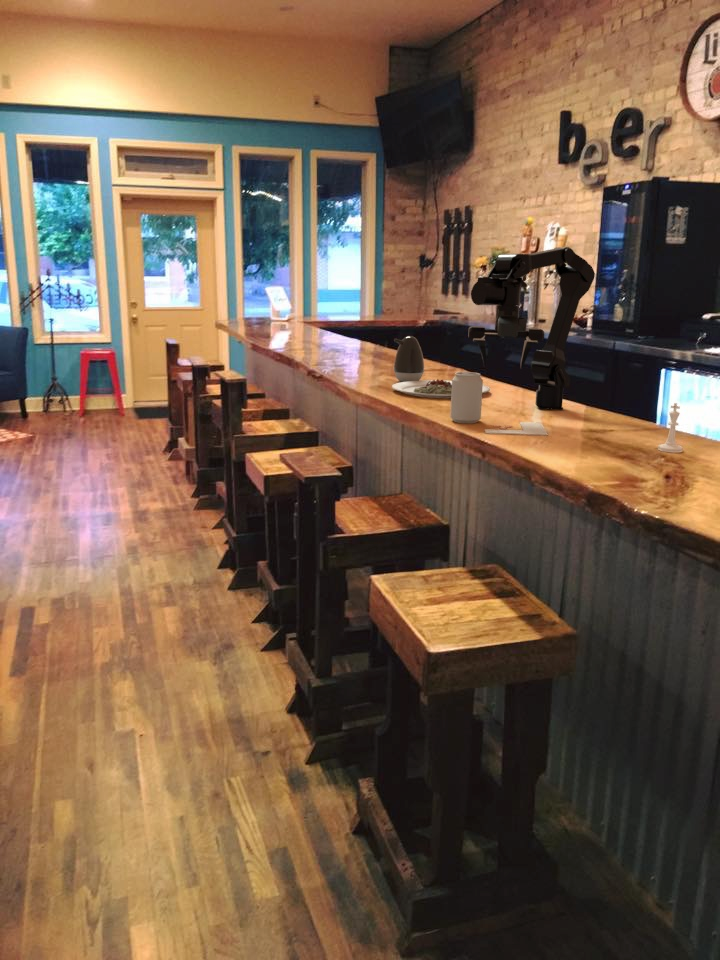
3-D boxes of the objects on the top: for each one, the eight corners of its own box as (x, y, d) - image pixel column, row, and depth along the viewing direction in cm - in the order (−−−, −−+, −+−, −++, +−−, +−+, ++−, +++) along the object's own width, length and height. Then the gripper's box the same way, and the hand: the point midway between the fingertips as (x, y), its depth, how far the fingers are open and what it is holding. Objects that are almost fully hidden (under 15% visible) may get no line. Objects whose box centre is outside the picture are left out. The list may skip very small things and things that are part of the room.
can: (463, 425, 187) (466, 375, 184) (444, 420, 193) (446, 371, 190) (487, 422, 191) (489, 373, 188) (467, 417, 197) (469, 370, 194)
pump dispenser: (389, 379, 264) (390, 334, 260) (419, 379, 266) (420, 334, 262) (396, 384, 254) (397, 337, 250) (427, 383, 256) (428, 337, 252)
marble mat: (540, 424, 190) (540, 422, 190) (547, 435, 176) (547, 434, 176) (482, 422, 191) (482, 420, 191) (485, 433, 178) (485, 432, 178)
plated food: (418, 403, 220) (418, 391, 219) (376, 388, 247) (376, 377, 246) (508, 397, 231) (509, 386, 230) (459, 384, 257) (459, 374, 257)
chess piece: (662, 446, 167) (667, 400, 164) (685, 449, 164) (691, 403, 161) (654, 450, 163) (659, 403, 160) (678, 453, 160) (684, 406, 157)
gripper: (471, 305, 188) (467, 369, 192) (549, 307, 186) (543, 372, 190) (470, 304, 199) (466, 365, 203) (544, 306, 197) (538, 367, 201)
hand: (503, 367), depth 199 cm, fingers open, 9 cm apart
